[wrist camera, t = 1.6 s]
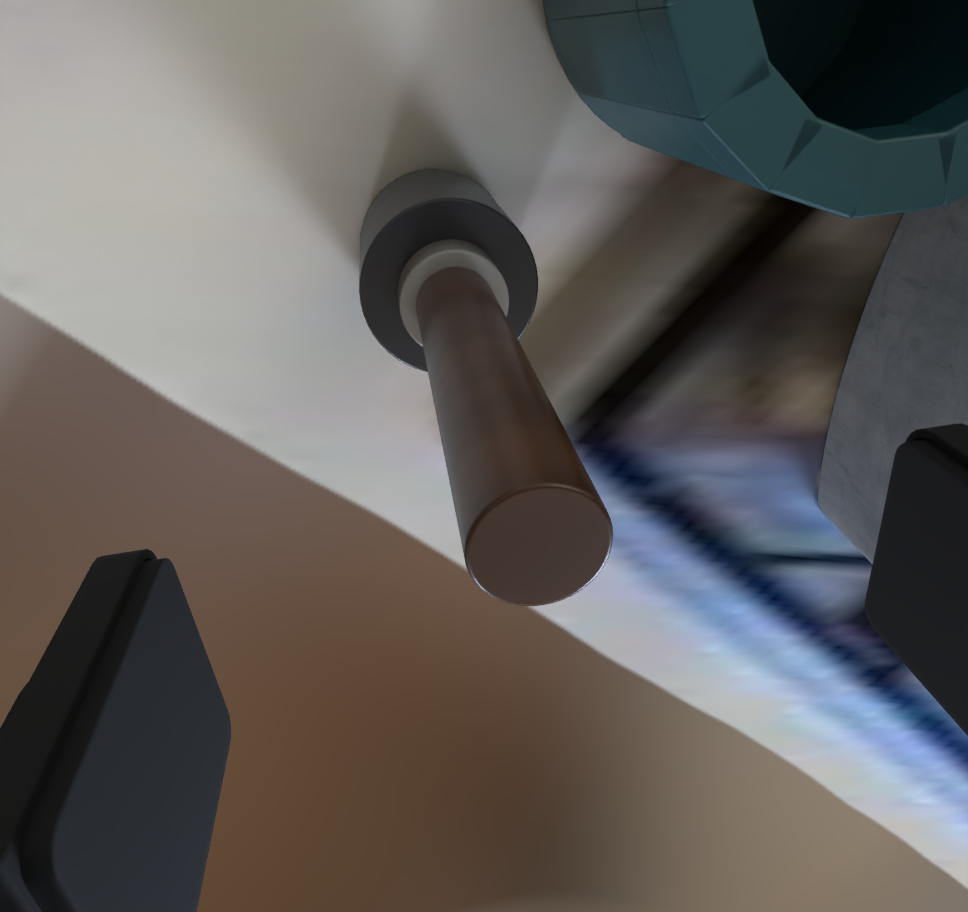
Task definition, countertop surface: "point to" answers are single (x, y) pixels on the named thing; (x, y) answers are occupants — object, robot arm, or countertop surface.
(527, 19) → the countertop surface
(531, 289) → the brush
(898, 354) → the hip flask
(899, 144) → the jar
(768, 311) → the countertop surface
